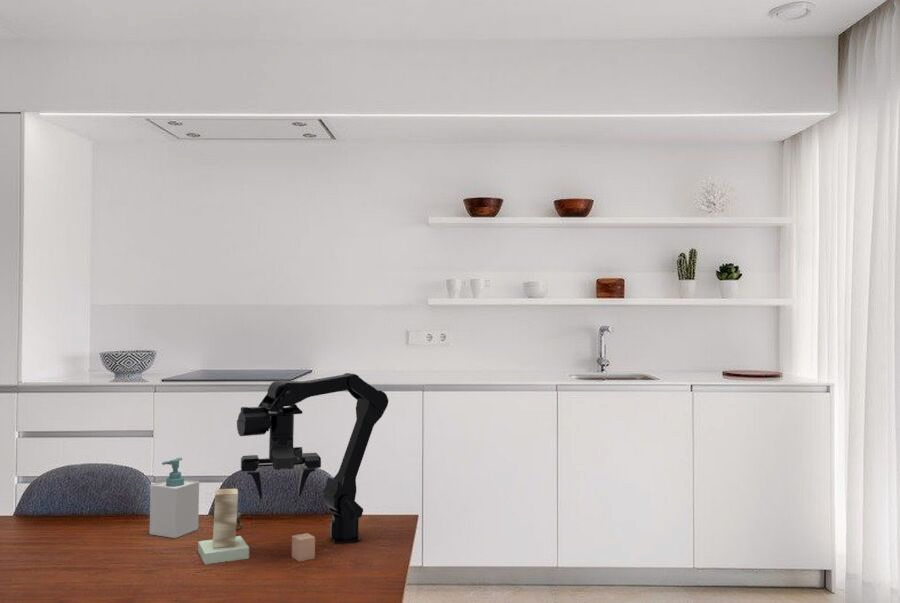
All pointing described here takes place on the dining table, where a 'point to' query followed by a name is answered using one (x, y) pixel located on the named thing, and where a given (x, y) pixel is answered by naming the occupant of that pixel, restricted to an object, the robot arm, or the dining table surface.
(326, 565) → the dining table surface
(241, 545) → the sage block
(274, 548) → the dining table surface
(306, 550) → the pinkish beige block
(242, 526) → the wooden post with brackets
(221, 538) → the birch pillar
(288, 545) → the dining table surface
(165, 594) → the dining table surface
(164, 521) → the soap bottle
